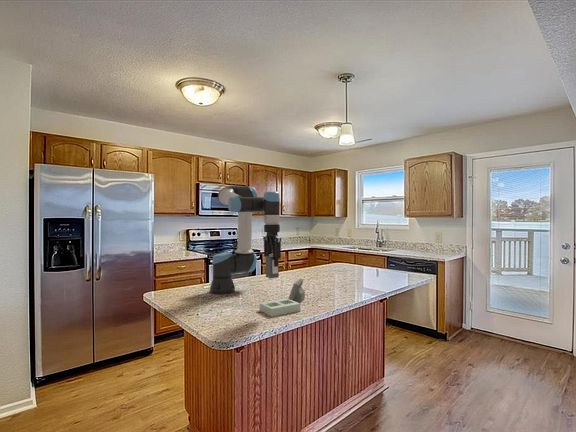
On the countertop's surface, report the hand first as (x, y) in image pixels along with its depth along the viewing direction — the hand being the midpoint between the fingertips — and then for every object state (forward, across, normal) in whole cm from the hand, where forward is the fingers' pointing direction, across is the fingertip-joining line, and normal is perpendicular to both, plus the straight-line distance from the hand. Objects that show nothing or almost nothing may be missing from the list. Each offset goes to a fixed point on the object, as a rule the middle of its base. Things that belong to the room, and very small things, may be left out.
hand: (272, 272), depth 155 cm
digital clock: (+19, -13, +22) cm, 32 cm away
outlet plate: (+19, 0, +4) cm, 19 cm away
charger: (+2, 0, 0) cm, 2 cm away
